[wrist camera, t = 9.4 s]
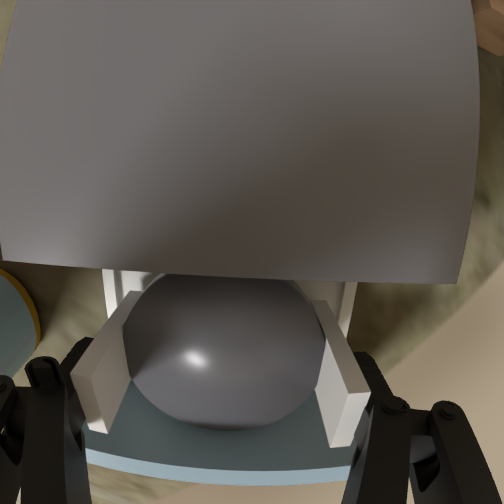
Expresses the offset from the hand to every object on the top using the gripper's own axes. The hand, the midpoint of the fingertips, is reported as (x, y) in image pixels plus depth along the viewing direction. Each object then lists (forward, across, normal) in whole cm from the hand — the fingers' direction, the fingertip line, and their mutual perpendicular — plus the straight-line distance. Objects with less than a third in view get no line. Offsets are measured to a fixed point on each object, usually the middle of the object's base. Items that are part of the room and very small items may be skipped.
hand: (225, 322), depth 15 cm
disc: (-2, 0, 0) cm, 2 cm away
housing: (+3, 0, +14) cm, 14 cm away
